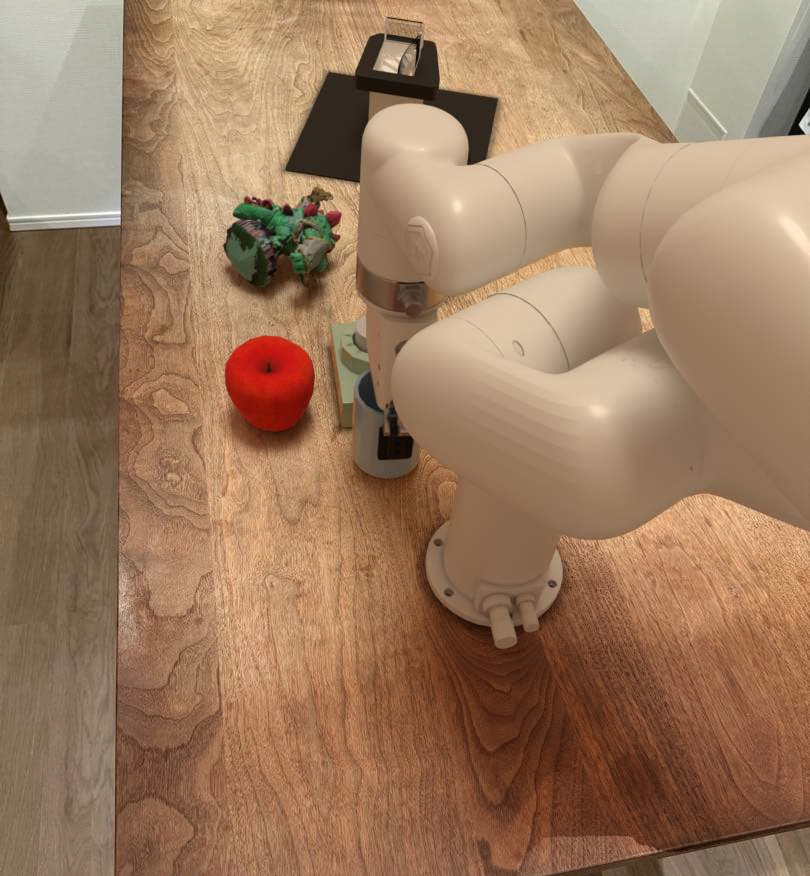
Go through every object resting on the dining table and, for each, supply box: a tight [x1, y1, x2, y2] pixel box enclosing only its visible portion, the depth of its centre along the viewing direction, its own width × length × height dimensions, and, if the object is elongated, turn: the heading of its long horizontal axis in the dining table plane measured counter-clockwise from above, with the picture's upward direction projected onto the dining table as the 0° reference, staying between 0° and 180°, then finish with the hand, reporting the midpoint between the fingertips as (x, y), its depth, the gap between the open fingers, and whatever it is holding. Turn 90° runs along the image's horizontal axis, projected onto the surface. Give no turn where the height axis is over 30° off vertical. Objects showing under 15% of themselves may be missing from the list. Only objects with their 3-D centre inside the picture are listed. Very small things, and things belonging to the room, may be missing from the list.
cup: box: [350, 368, 423, 479], centre depth 83 cm, size 7×7×8 cm
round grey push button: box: [355, 314, 368, 353], centre depth 90 cm, size 4×4×2 cm
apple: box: [224, 334, 316, 433], centre depth 87 cm, size 9×9×8 cm
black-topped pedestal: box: [284, 14, 499, 182], centre depth 120 cm, size 28×26×13 cm
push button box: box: [330, 318, 370, 428], centre depth 92 cm, size 12×8×6 cm, turn 8°
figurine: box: [222, 186, 343, 288], centre depth 102 cm, size 12×13×15 cm
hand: (388, 426), depth 84 cm, fingers closed on cup, 6 cm apart
